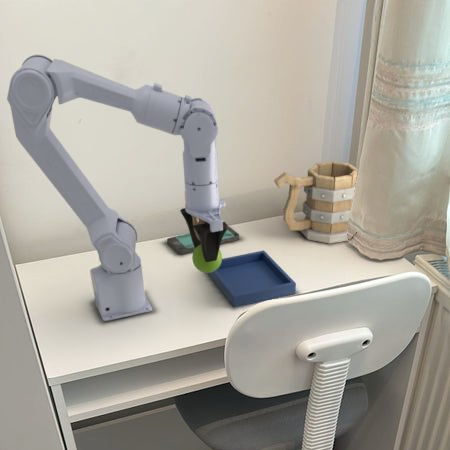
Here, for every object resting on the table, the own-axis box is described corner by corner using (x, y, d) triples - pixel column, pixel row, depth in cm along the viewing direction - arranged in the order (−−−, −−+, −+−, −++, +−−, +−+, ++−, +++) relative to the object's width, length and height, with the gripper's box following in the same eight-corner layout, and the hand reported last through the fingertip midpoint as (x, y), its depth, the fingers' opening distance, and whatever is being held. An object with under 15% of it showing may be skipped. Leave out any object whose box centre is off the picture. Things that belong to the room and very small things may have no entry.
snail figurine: (206, 259, 121) (203, 198, 114) (228, 271, 118) (226, 209, 110) (184, 268, 119) (179, 207, 111) (205, 281, 115) (202, 218, 107)
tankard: (341, 216, 151) (347, 151, 142) (366, 237, 142) (374, 170, 132) (262, 229, 147) (263, 163, 137) (283, 252, 137) (285, 184, 128)
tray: (295, 293, 124) (296, 283, 122) (233, 307, 120) (233, 296, 119) (263, 260, 135) (263, 250, 133) (206, 272, 132) (206, 261, 130)
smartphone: (165, 237, 142) (225, 222, 147) (166, 243, 143) (225, 227, 148) (179, 250, 137) (240, 234, 142) (179, 256, 138) (240, 239, 143)
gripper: (239, 190, 103) (240, 266, 112) (209, 162, 114) (212, 233, 122) (198, 197, 101) (202, 274, 110) (171, 168, 112) (177, 240, 121)
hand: (205, 253), depth 116 cm, fingers closed on snail figurine, 5 cm apart
